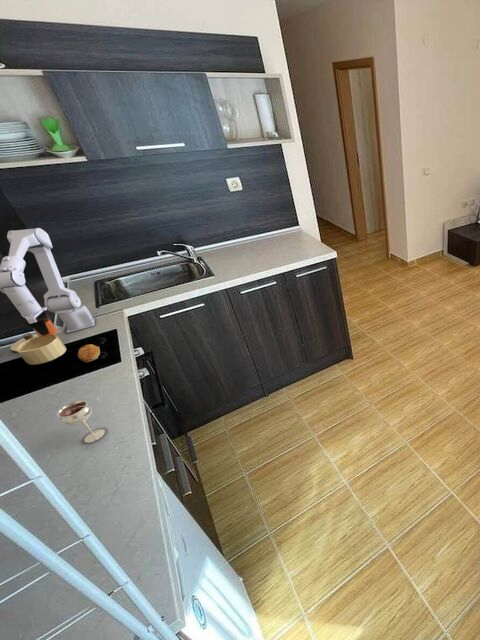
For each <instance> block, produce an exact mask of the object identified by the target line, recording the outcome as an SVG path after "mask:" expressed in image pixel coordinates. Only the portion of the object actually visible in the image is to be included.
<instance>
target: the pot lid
mask: <svg viewBox="0 0 480 640" xmlns="http://www.w3.org/2000/svg"><path fill="white" fill-rule="evenodd" d="M37 336H38V334H37V333H35V334H32V333H30V332H28V333H24V334H23V335H22V338H21V339H19V340H17V341H15V342H13V344H11V346H10V347H9V348H10V350H11V351H12V352H16V353H18V352H17V351H16V347H17V346H18V345H19V344H21V343H22V342H24V341H26V340H28V339H31V338H34V337H37Z"/></svg>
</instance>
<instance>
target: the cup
mask: <svg viewBox="0 0 480 640" xmlns="http://www.w3.org/2000/svg"><path fill="white" fill-rule="evenodd" d="M45 323H46V326H47V328H48V330H49V334H46V335H41V334H40V333H38V332H37V331H36V330H35V329H33V331H34V332H35V334H38V336H39V337H41V338H43V337H48V336H51V335H54V334H57V333H58V329H57V327H55V325H54V323H53V322H52V321H51V320H50V318H47V319H45Z"/></svg>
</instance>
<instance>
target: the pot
mask: <svg viewBox="0 0 480 640" xmlns="http://www.w3.org/2000/svg"><path fill="white" fill-rule="evenodd" d="M16 351H17V352H16ZM16 351H15V352H16V353H18V355H19V356H20V357H21V359H23V361H24V362H25V363H26V364H27V365H29V366H35V365H36V366H37V365H41V364H45V363H49V362H51V361H53V360H56V359H57V358H59V357H61V356H62V355H64V354H65V353H66V351H67V347H66V345H65V344H64V343H63V341H62V340H61V338H60V337H59V336H58V335H57V333H55V334H54V335H51V336H48V337H43V338H41V337H39V336H37V337H34V338H31V339H28V340H26V341H24V342H22V343H21V344H19V345H18V346H17V347H16Z"/></svg>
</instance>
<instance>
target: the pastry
mask: <svg viewBox="0 0 480 640" xmlns="http://www.w3.org/2000/svg"><path fill="white" fill-rule="evenodd" d="M100 355H101V350H100V346H97V345H95V344H91V343H90V344H85V345H82V347H80V348H79V349H78V353H77V358H78V359H80V361H82V362H84V363H85V364H86V363H89V362H90V363H91V362H93V361H95V360H97V359H98V358H99V356H100Z"/></svg>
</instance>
